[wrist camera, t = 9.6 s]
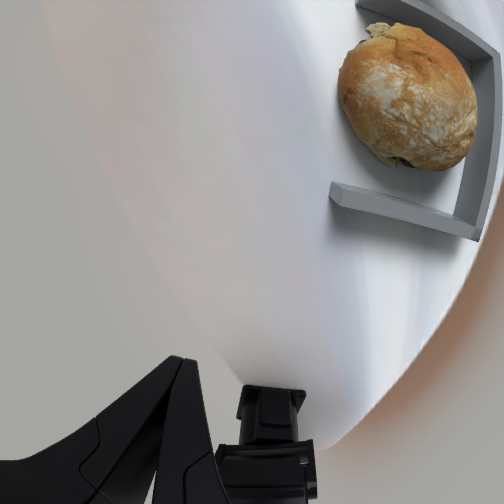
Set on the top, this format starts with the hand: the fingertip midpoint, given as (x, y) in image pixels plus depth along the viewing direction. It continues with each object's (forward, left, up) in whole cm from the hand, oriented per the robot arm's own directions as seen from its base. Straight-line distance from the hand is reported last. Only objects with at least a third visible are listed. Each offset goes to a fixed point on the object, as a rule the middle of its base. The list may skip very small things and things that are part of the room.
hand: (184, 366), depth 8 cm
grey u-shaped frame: (+12, -12, -12) cm, 21 cm away
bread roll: (+12, -10, -12) cm, 20 cm away
